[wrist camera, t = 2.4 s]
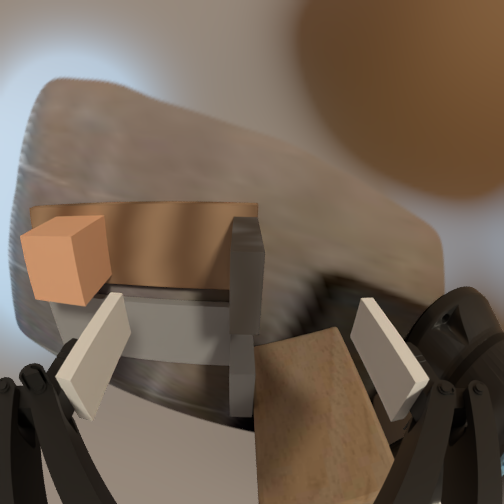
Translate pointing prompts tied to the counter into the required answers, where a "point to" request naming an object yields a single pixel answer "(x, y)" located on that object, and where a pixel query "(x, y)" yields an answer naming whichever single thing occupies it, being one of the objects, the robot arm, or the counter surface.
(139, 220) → the walnut strip
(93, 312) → the grey l-shaped block
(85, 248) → the terracotta cube
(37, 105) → the counter surface
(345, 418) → the wooden block
